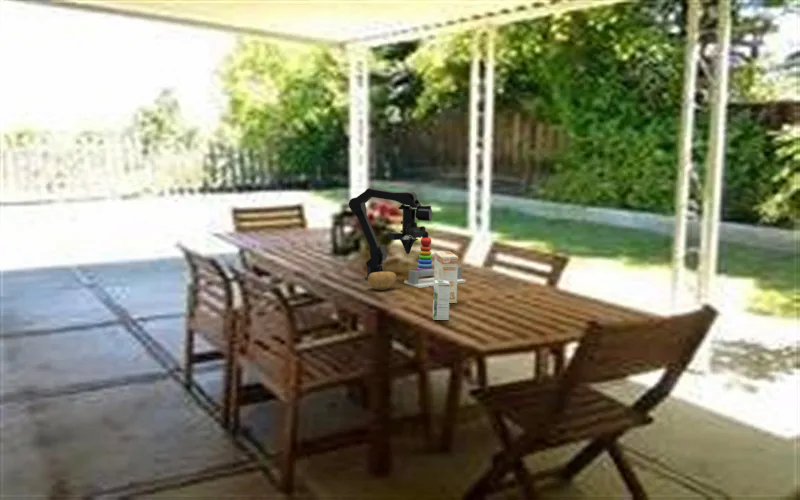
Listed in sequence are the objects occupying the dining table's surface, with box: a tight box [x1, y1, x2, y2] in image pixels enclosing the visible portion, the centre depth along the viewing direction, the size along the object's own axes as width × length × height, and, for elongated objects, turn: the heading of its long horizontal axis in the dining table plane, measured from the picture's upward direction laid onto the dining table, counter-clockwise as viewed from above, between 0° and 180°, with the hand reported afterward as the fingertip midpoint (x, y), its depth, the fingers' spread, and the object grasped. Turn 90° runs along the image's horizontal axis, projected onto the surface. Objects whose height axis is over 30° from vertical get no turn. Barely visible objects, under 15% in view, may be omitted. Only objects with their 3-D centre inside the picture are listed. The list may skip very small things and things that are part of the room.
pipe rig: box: [403, 265, 467, 289], centre depth 406 cm, size 26×12×7 cm, turn 123°
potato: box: [367, 271, 397, 291], centre depth 390 cm, size 10×14×8 cm
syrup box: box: [432, 280, 450, 321], centre depth 337 cm, size 6×6×14 cm
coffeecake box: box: [433, 250, 459, 303], centre depth 369 cm, size 15×7×20 cm, turn 9°
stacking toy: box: [416, 236, 433, 278], centre depth 423 cm, size 8×8×19 cm
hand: (407, 253), depth 406 cm, fingers closed
